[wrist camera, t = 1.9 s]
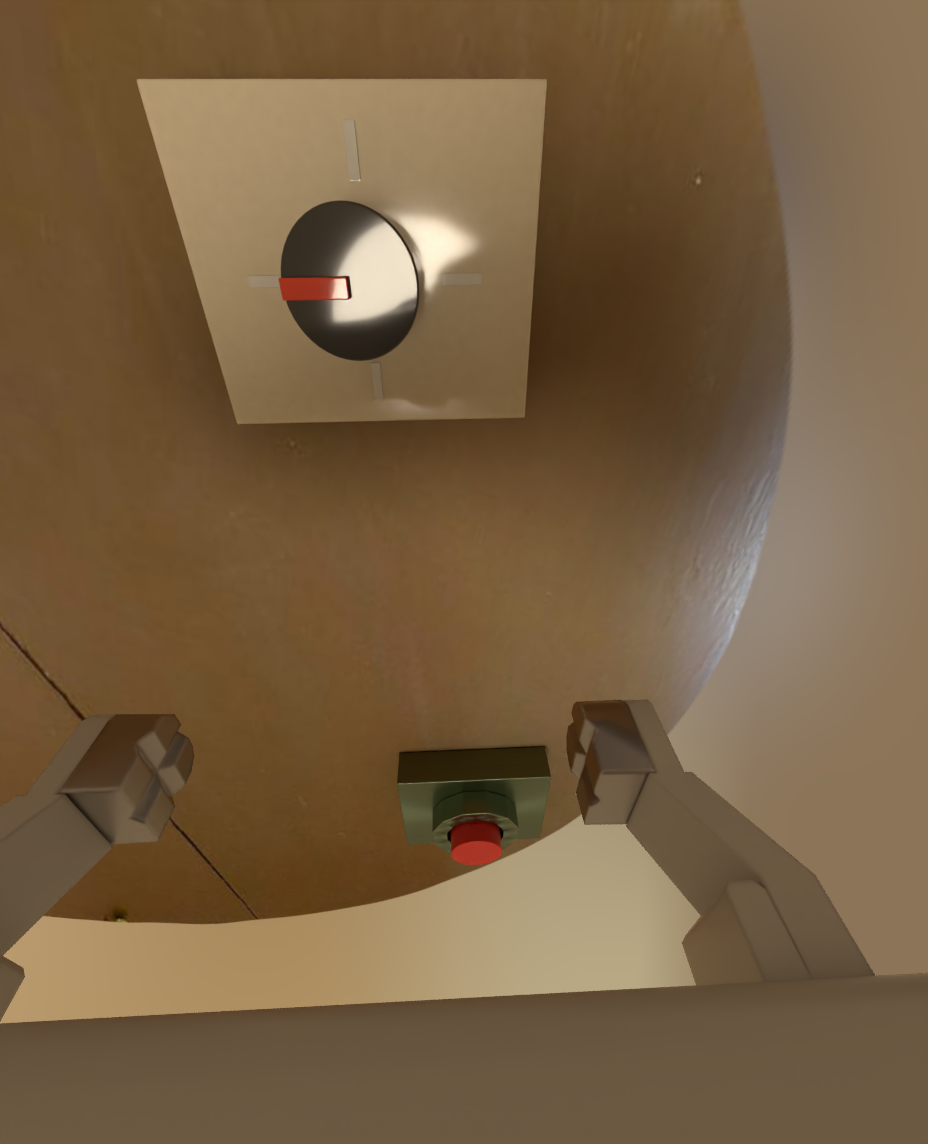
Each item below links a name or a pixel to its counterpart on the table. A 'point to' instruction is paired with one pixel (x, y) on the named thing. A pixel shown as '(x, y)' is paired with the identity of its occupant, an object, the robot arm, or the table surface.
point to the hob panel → (384, 183)
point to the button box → (473, 792)
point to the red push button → (475, 842)
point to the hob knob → (351, 280)
